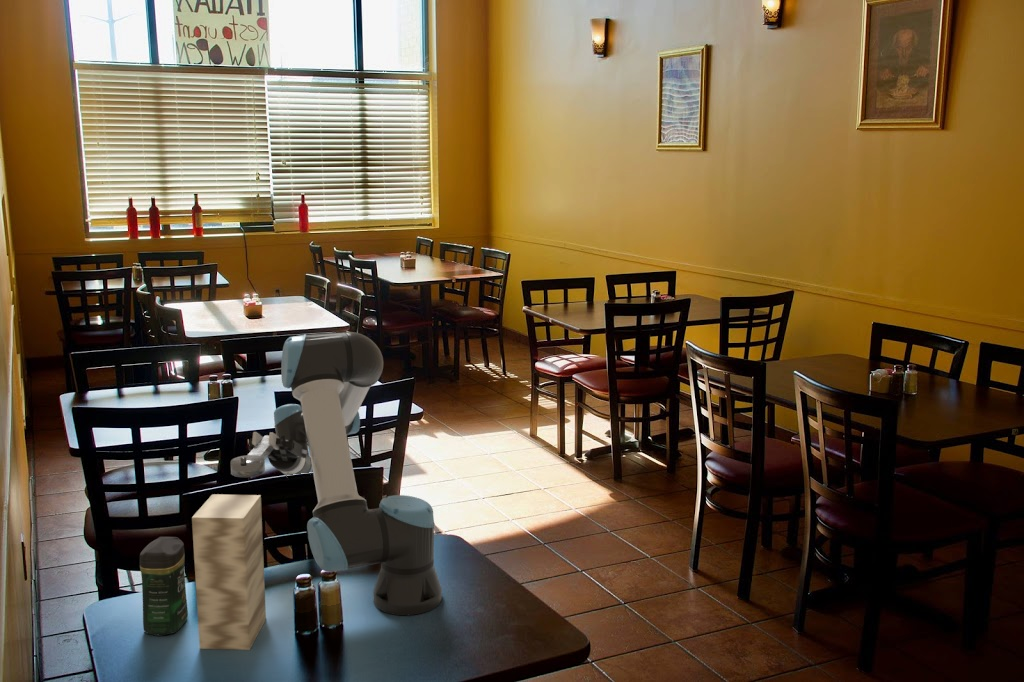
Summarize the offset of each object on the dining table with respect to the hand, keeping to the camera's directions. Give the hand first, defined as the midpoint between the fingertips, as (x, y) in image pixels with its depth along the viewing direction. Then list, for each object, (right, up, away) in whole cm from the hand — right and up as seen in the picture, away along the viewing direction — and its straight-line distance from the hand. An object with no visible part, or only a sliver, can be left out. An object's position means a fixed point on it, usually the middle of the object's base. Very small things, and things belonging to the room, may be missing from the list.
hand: (262, 437), depth 206 cm
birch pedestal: (-1, -38, -19) cm, 43 cm away
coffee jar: (-16, -38, -16) cm, 44 cm away
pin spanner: (0, -4, -3) cm, 5 cm away
